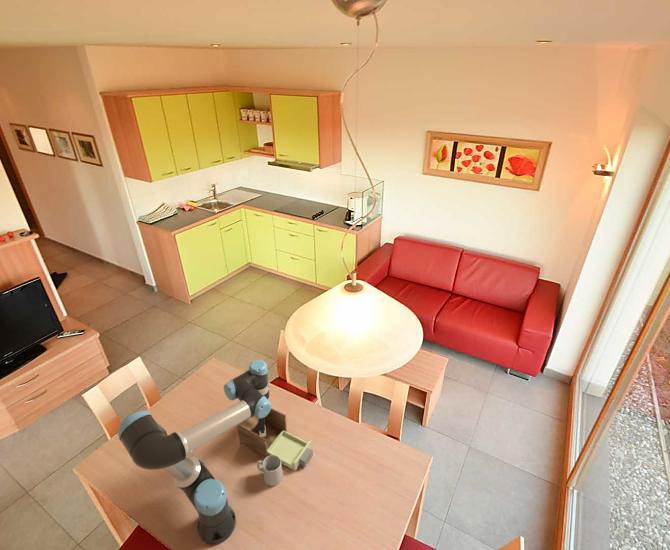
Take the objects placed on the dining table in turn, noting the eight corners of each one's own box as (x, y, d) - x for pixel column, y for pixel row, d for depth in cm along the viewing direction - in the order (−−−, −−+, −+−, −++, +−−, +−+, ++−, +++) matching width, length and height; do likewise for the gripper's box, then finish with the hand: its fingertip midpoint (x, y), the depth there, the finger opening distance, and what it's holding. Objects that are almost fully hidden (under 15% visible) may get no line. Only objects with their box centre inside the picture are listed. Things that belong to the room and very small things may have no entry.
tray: (300, 473, 182) (300, 466, 179) (266, 454, 190) (265, 447, 188) (316, 450, 193) (316, 443, 190) (283, 433, 201) (282, 426, 199)
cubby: (267, 459, 189) (264, 438, 182) (240, 444, 196) (236, 423, 189) (286, 433, 202) (285, 413, 195) (261, 420, 209) (258, 400, 202)
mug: (285, 472, 183) (284, 457, 178) (277, 488, 176) (276, 474, 171) (262, 465, 186) (260, 450, 181) (254, 481, 179) (251, 466, 174)
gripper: (268, 412, 161) (271, 445, 172) (268, 370, 183) (271, 402, 193) (250, 413, 160) (254, 447, 171) (252, 371, 182) (255, 404, 192)
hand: (263, 423), depth 182 cm, fingers open, 13 cm apart
